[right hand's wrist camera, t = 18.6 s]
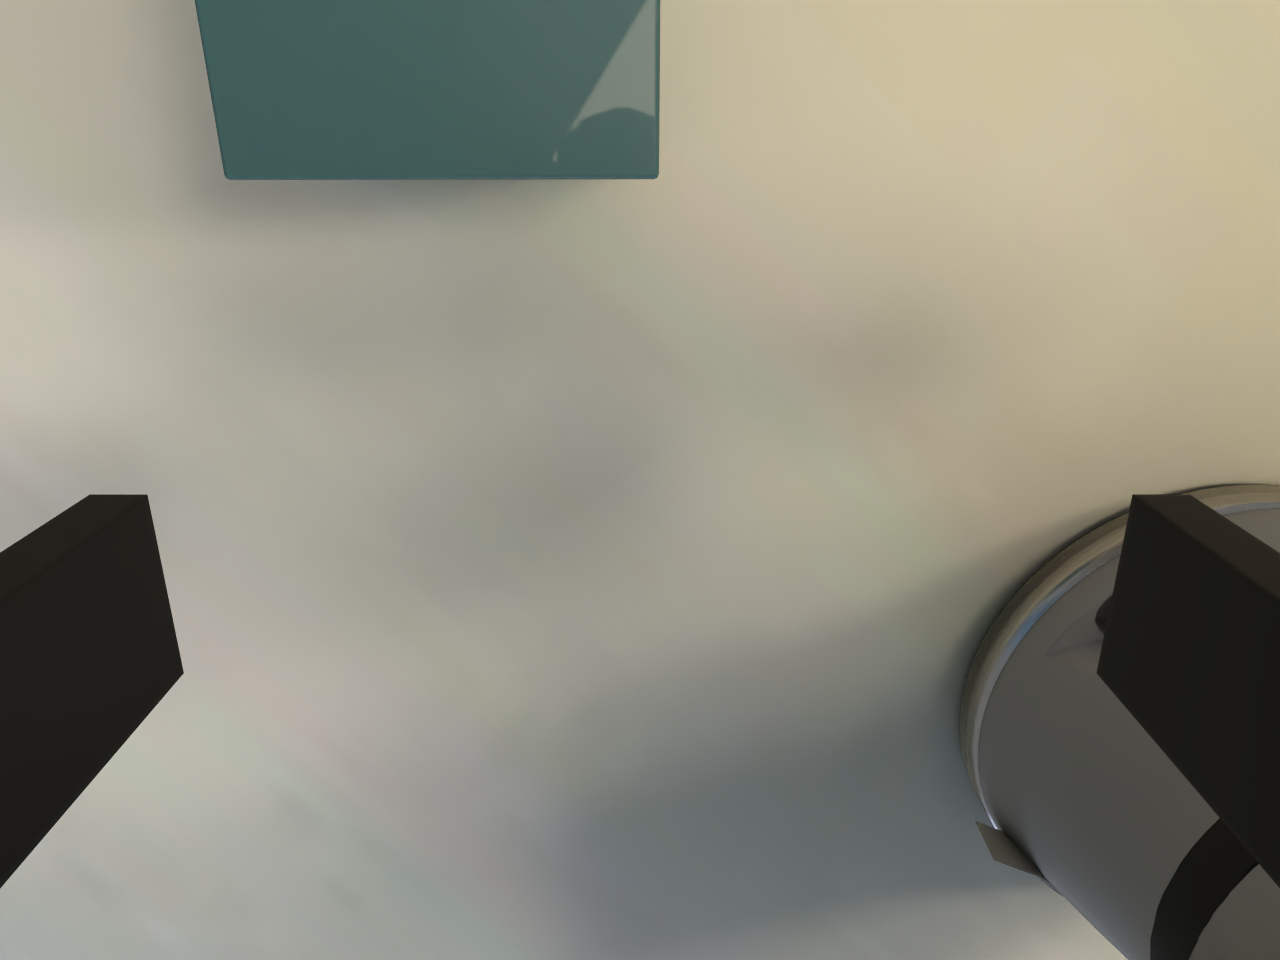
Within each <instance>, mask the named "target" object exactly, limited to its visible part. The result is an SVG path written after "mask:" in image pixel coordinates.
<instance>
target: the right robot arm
mask: <svg viewBox="0 0 1280 960" xmlns="http://www.w3.org/2000/svg"><path fill="white" fill-rule="evenodd" d="M183 673H184V672H183V667H182V663H181V658H180V653H179V648H178V643H177V638H176V633H175V628H174V623H173V618H172V613H171V609H170V604H169V599H168V594H167V589H166V584H165V579H164V574H163V569H162V564H161V559H160V555H159V550H158V545H157V540H156V535H155V530H154V525H153V520H152V515H151V510H150V506H149V501H148V496H147V495H89V496H87V497H85V498H84V499H82V500H81V501H79V502H78V503H76V504H75V505H73V506H72V507H70V508H68V509H67V510H65V511H64V512H62V513H61V514H59V515H58V516H56V517H55V518H53V519H52V520H50V521H48V522H47V523H45V524H44V525H42V526H41V527H39V528H38V529H36V530H35V531H33V532H32V533H30V534H28V535H27V536H25V537H24V538H22V539H21V540H19V541H18V542H16V543H15V544H13V545H11V546H10V547H8V548H7V549H5V550H4V551H2V552H1V553H0V888H1V887H2V886H3V884H4V883H5V882H6V881H7V880H8V879H9V877H10V876H11V875H12V874H13V873H14V872H15V870H16V869H17V868H18V867H19V866H20V865H21V863H22V862H23V861H24V860H25V859H26V857H27V856H28V855H29V854H30V853H31V852H32V850H33V849H34V848H35V847H36V846H37V845H38V843H39V842H40V841H41V840H42V839H43V838H44V836H45V835H46V834H47V833H48V832H49V831H50V829H51V828H52V827H53V826H54V825H55V823H56V822H57V821H58V820H59V819H60V818H61V816H62V815H63V814H64V813H65V812H66V811H67V809H68V808H69V807H70V806H71V805H72V804H73V802H74V801H75V800H76V799H77V798H78V796H79V795H80V794H81V793H82V792H83V791H84V789H85V788H86V787H87V786H88V785H89V784H90V782H91V781H92V780H93V779H94V778H95V777H96V775H97V774H98V773H99V772H100V771H101V769H102V768H103V767H104V766H105V765H106V764H107V762H108V761H109V760H110V759H111V758H112V757H113V755H114V754H115V753H116V752H117V751H118V750H119V748H120V747H121V746H122V745H123V744H124V743H125V741H126V740H127V739H128V738H129V737H130V735H131V734H132V733H133V732H134V731H135V730H136V728H137V727H138V726H139V725H140V724H141V723H142V721H143V720H144V719H145V718H146V717H147V716H148V714H149V713H150V712H151V711H152V710H153V708H154V707H155V706H156V705H157V704H158V703H159V701H160V700H161V699H162V698H163V697H164V696H165V694H166V693H167V692H168V691H169V690H170V689H171V687H172V686H173V685H174V684H175V683H176V682H177V680H178V679H179V678H180V677H181V676H182V674H183ZM960 741H961V748H962V755H963V759H964V762H965V766H966V770H967V772H968V775H969V777H970V780H971V782H972V785H973V787H974V789H975V791H976V793H977V795H978V797H979V799H980V801H981V803H982V805H983V807H984V809H985V811H986V813H987V815H988V817H989V819H990V820H991V822H992V824H993V826H994V827H995V828H993V827H990V826H987V825H985V824H982V823H979V822H977V821H976V823H977V826H978V828H979V830H980V832H981V834H982V836H983V838H984V840H985V842H986V844H987V846H988V848H989V850H990V852H991V854H992V857H993V859H994V860H996V861H998V862H1001V863H1004V864H1006V865H1009V866H1012V867H1014V868H1017V869H1020V870H1023V871H1025V872H1028V873H1031V874H1033V875H1036V876H1037V877H1038V878H1040V879H1041V880H1042V881H1043V882H1045V883H1046V884H1047V885H1048V886H1049V887H1051V888H1052V889H1053V890H1054V891H1056V892H1057V893H1059V894H1060V895H1062V896H1063V897H1065V898H1066V899H1067V900H1068V901H1069V902H1070V903H1071V904H1072V905H1073V906H1074V907H1075V908H1076V909H1077V910H1078V911H1079V912H1080V913H1081V914H1082V915H1083V916H1084V917H1085V918H1086V919H1087V920H1088V921H1089V922H1090V923H1091V924H1092V925H1093V926H1094V927H1095V928H1096V929H1097V930H1098V931H1099V932H1100V933H1101V934H1102V935H1103V936H1104V937H1105V938H1106V939H1107V940H1108V941H1109V942H1110V943H1111V944H1112V945H1113V946H1115V947H1116V948H1117V949H1118V950H1119V951H1120V952H1121V953H1122V954H1123V955H1124V956H1125V957H1126V958H1127V959H1128V960H1280V485H1259V484H1253V485H1231V486H1223V487H1216V488H1208V489H1202V490H1198V491H1193V492H1189V493H1184V494H1180V495H1133V496H1132V501H1131V506H1130V510H1129V512H1128V513H1126V514H1124V515H1122V516H1120V517H1118V518H1116V519H1114V520H1112V521H1109V522H1107V523H1105V524H1104V525H1102V526H1100V527H1098V528H1097V529H1095V530H1093V531H1092V532H1090V533H1088V534H1086V535H1085V536H1083V537H1081V538H1080V539H1079V540H1077V541H1076V542H1074V543H1073V544H1071V545H1070V546H1068V547H1067V548H1066V549H1064V550H1063V551H1061V552H1060V553H1059V554H1058V555H1056V556H1055V557H1054V558H1053V559H1051V560H1050V561H1049V562H1048V563H1047V564H1045V565H1044V566H1043V567H1042V568H1041V569H1040V570H1038V571H1037V572H1036V573H1035V574H1034V575H1033V576H1032V577H1031V578H1030V579H1029V580H1028V581H1027V582H1026V583H1025V584H1024V585H1023V586H1022V587H1021V588H1020V589H1019V591H1018V592H1017V593H1016V594H1015V595H1014V596H1013V598H1012V599H1011V600H1010V601H1009V602H1008V603H1007V605H1006V606H1005V607H1004V609H1003V610H1002V611H1001V613H1000V614H999V616H998V617H997V618H996V620H995V621H994V622H993V624H992V626H991V627H990V629H989V631H988V633H987V634H986V636H985V638H984V639H983V641H982V643H981V645H980V647H979V649H978V651H977V654H976V656H975V658H974V660H973V662H972V665H971V668H970V671H969V674H968V677H967V680H966V684H965V688H964V692H963V697H962V703H961V711H960Z"/></svg>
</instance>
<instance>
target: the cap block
mask: <svg viewBox="0 0 1280 960" xmlns="http://www.w3.org/2000/svg"><path fill="white" fill-rule="evenodd" d="M195 4H196V10H197V16H198V22H199V27H200V33H201V39H202V45H203V51H204V57H205V63H206V68H207V74H208V80H209V86H210V92H211V98H212V104H213V110H214V115H215V121H216V127H217V133H218V139H219V145H220V151H221V157H222V162H223V168H224V174H225V177H226V178H227V179H230V180H423V179H655V178H657V177H658V175H659V84H660V0H195Z"/></svg>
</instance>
